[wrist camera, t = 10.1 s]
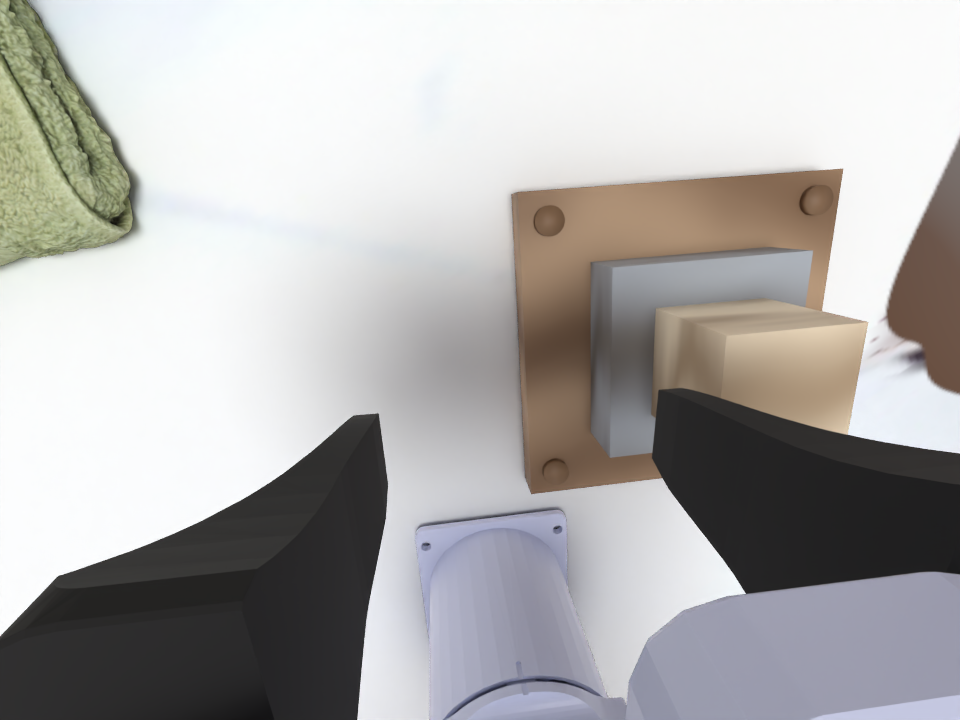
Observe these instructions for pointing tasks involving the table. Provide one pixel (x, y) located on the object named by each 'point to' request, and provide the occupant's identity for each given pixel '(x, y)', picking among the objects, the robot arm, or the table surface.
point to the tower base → (623, 234)
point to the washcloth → (51, 152)
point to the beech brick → (762, 358)
